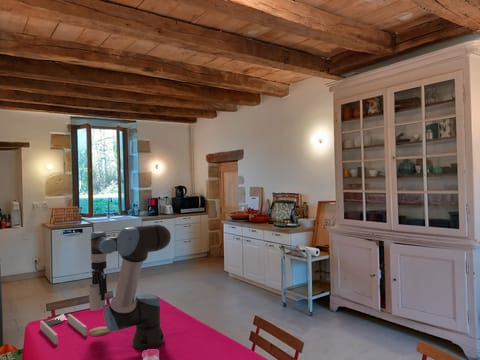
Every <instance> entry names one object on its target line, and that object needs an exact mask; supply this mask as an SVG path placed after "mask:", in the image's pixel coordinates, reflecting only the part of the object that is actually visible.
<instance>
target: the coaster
mask: <svg viewBox="0 0 480 360" xmlns="http://www.w3.org/2000/svg"><path fill="white" fill-rule="evenodd" d="M110 333H112V332H111V331H109V330H108V328H107V326H97V327H93V328H91V329H90V330H89V331H88V335H89V336H91V337H101V336H106V335H108V334H110Z"/></svg>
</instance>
